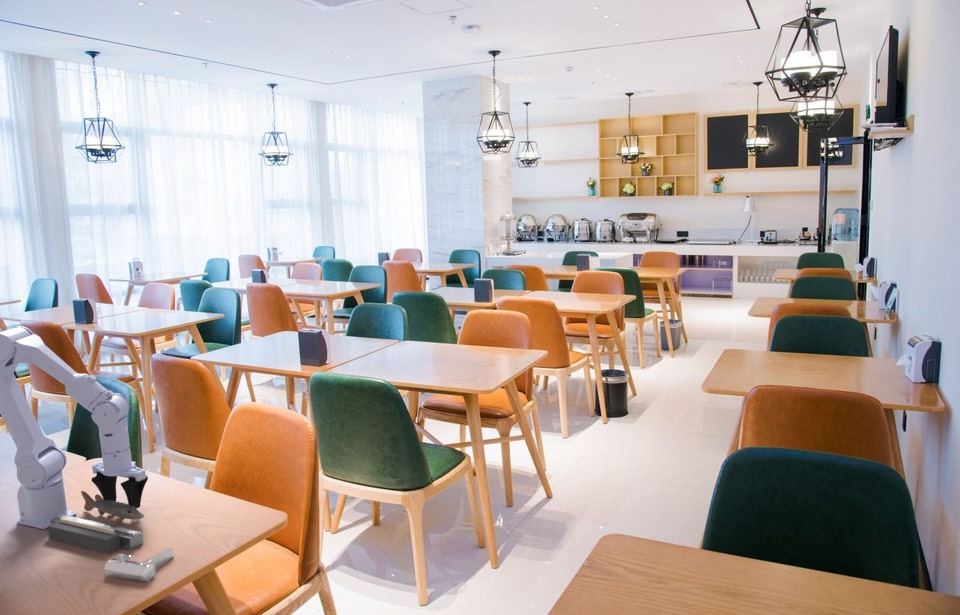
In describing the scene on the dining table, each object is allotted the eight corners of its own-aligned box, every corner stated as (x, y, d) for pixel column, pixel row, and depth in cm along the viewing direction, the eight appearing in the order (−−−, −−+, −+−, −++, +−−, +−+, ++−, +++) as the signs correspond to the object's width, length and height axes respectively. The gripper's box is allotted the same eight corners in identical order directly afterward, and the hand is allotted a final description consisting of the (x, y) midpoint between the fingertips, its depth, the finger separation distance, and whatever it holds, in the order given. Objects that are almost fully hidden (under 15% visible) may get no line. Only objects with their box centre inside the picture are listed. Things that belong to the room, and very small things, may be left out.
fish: (135, 531, 151) (132, 509, 150) (74, 514, 160) (71, 494, 159) (153, 522, 155) (150, 501, 154) (92, 506, 164) (89, 486, 163)
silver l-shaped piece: (104, 579, 132) (143, 585, 130) (103, 556, 132) (141, 562, 129) (144, 555, 142) (180, 561, 139) (142, 534, 141) (179, 539, 139)
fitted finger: (49, 539, 149) (47, 522, 148) (61, 533, 151) (59, 516, 150) (108, 553, 141) (106, 536, 141) (120, 547, 144) (118, 530, 143)
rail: (52, 530, 152) (50, 517, 152) (65, 524, 155) (63, 512, 155) (131, 550, 143) (129, 536, 142) (143, 543, 145) (141, 529, 145)
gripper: (154, 446, 158) (160, 503, 160) (108, 439, 163) (115, 494, 166) (127, 457, 151) (134, 516, 153) (81, 450, 157) (88, 507, 159)
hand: (123, 506), depth 159 cm, fingers open, 7 cm apart
